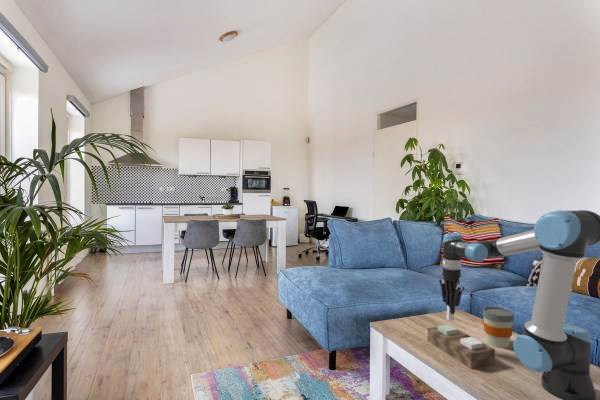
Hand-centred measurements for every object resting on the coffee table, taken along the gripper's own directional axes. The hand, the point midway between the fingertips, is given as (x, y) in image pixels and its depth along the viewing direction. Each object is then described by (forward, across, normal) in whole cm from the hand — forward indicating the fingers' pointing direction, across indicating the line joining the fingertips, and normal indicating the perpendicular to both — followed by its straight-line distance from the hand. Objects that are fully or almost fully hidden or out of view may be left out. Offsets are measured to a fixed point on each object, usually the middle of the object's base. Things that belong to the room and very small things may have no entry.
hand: (450, 319), depth 153 cm
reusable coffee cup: (+12, +5, +23) cm, 26 cm away
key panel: (+12, +6, 0) cm, 13 cm away
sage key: (+9, -1, 0) cm, 10 cm away
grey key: (+9, +13, 0) cm, 16 cm away
